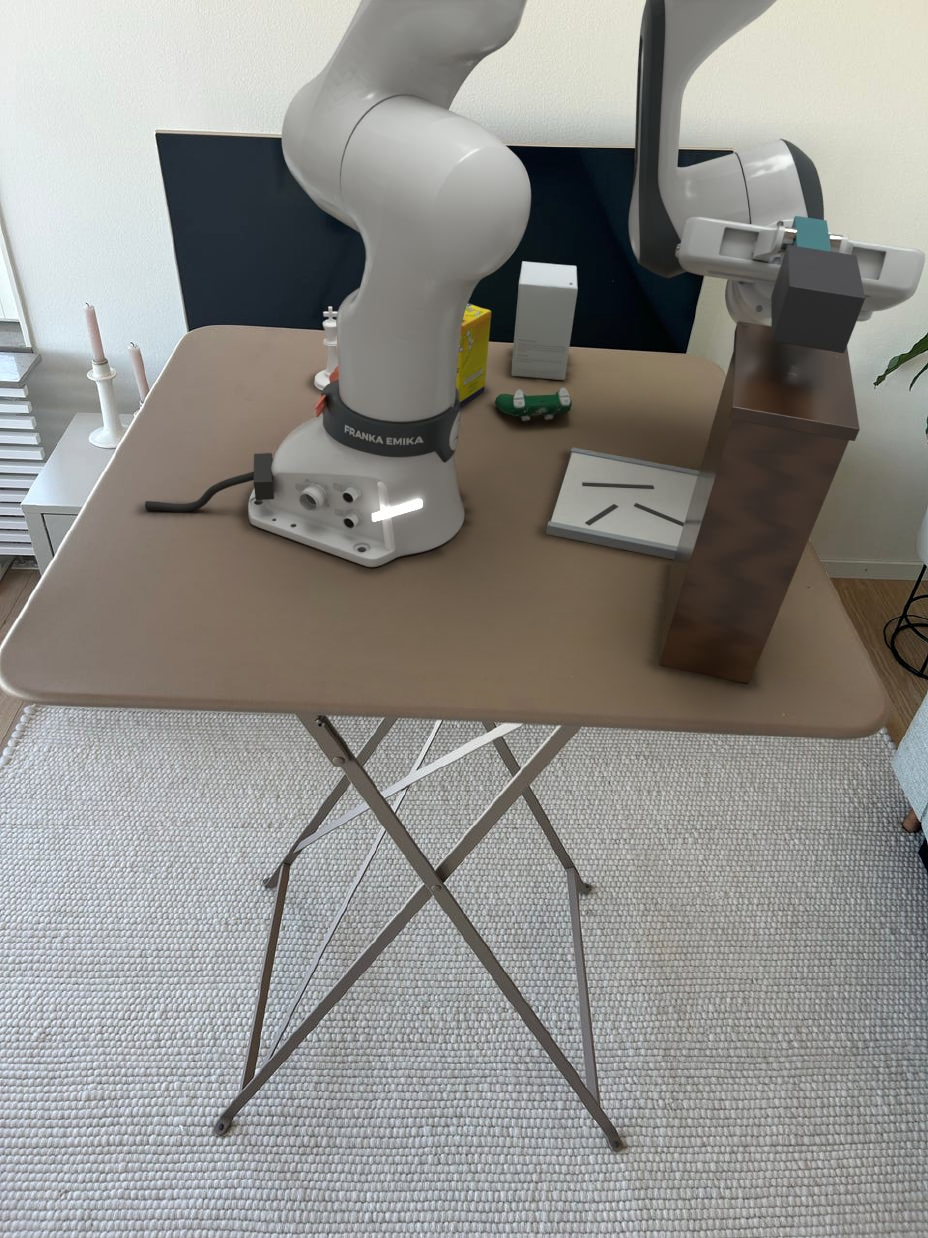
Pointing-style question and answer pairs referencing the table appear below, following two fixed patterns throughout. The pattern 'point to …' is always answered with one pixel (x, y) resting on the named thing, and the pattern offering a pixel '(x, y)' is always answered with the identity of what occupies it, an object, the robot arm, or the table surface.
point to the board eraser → (816, 291)
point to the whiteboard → (623, 503)
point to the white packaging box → (544, 320)
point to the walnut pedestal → (755, 500)
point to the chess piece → (331, 342)
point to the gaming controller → (534, 404)
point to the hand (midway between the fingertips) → (812, 241)
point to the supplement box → (473, 352)
